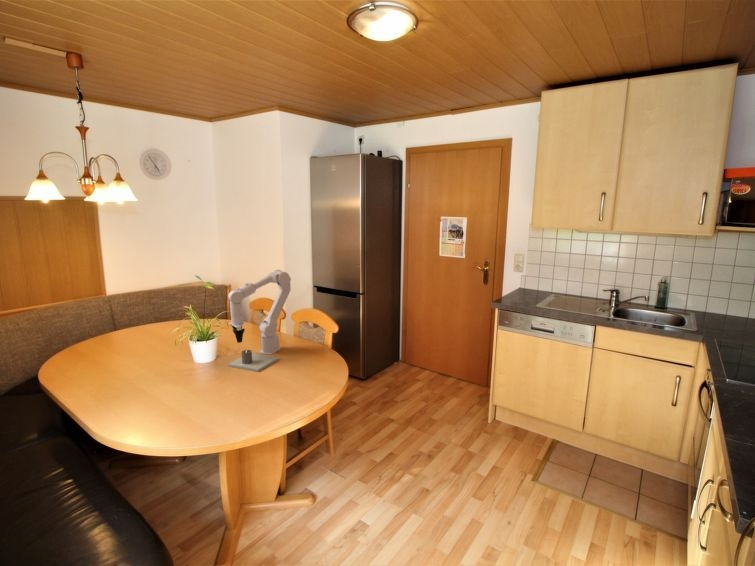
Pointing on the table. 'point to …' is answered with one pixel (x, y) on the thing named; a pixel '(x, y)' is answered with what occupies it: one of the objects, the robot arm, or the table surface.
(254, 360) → the grey square plate
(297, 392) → the table surface
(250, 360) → the knob
